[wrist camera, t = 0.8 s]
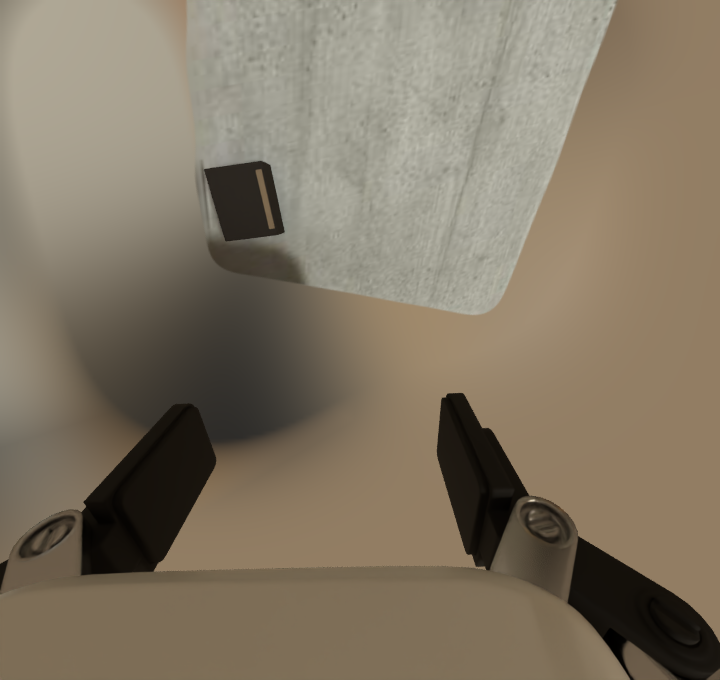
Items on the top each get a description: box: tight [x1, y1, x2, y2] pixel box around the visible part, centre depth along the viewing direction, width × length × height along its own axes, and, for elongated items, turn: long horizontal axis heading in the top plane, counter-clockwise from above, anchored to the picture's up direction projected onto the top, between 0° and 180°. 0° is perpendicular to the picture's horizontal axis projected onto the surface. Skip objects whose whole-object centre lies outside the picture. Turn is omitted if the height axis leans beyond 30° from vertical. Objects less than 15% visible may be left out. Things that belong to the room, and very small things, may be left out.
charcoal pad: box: [204, 161, 284, 241], centre depth 32 cm, size 7×6×3 cm
